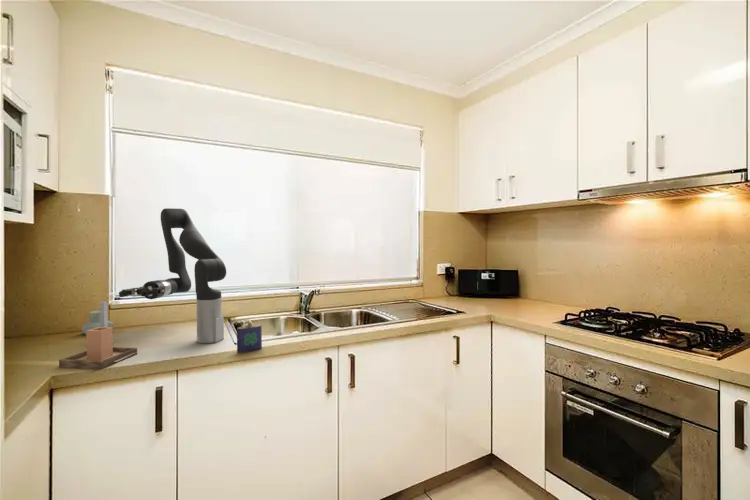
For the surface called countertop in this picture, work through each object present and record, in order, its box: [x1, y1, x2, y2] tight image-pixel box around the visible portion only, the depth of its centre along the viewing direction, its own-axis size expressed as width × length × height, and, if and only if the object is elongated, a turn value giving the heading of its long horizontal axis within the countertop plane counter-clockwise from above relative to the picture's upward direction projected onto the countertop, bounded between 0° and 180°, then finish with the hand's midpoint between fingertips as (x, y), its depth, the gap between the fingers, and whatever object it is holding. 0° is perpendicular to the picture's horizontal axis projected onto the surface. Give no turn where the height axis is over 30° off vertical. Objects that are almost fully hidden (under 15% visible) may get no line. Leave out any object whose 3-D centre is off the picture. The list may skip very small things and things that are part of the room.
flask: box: [236, 321, 263, 354], centre depth 136 cm, size 9×3×11 cm, turn 130°
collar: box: [85, 327, 114, 361], centre depth 124 cm, size 5×5×10 cm
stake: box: [98, 300, 117, 344], centre depth 141 cm, size 6×6×17 cm
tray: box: [58, 346, 138, 370], centre depth 124 cm, size 15×15×2 cm
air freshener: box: [81, 310, 115, 336], centre depth 157 cm, size 11×8×10 cm
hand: (131, 294), depth 139 cm, fingers open, 8 cm apart
